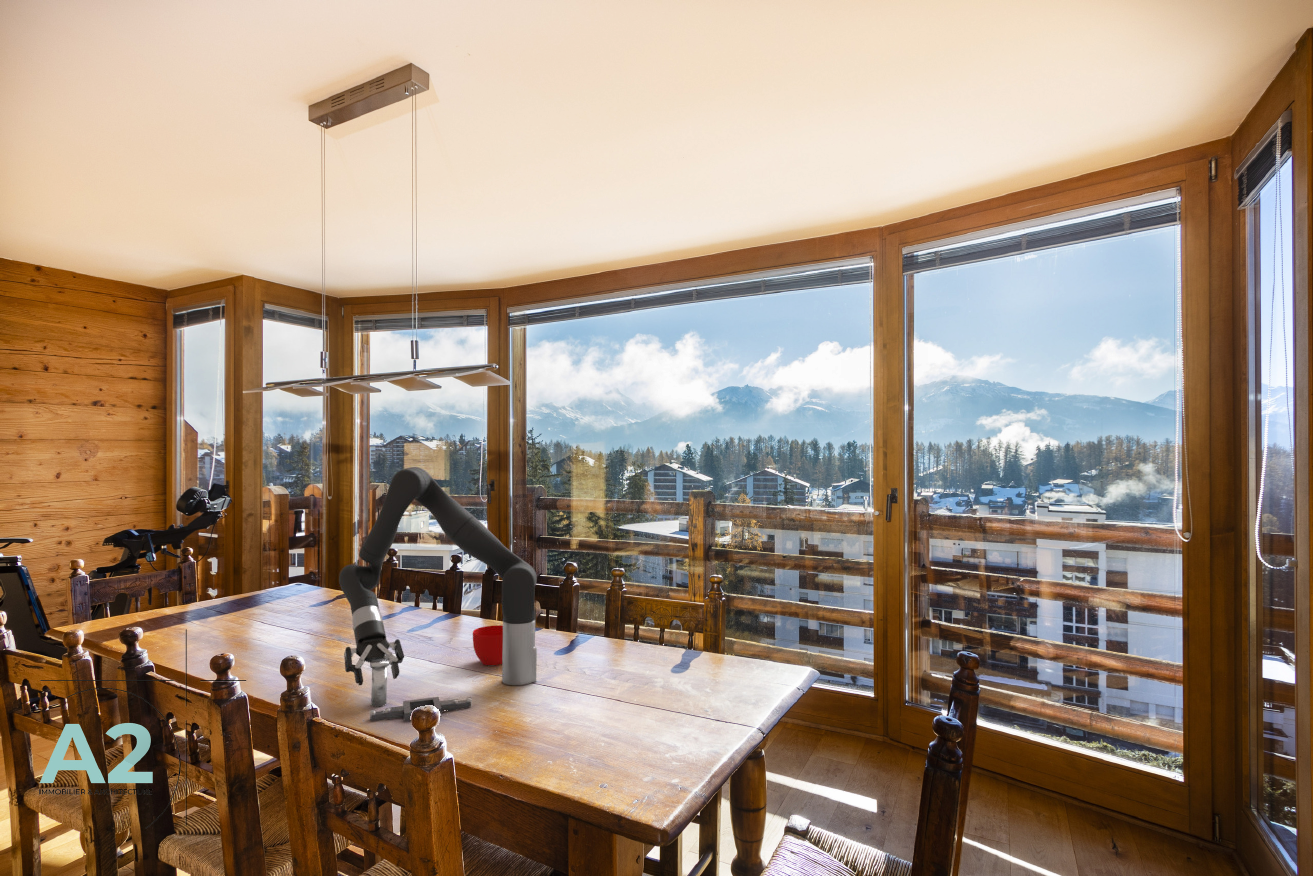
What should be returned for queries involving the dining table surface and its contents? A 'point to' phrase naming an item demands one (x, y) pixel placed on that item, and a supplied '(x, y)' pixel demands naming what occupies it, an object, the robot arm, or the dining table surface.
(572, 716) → the dining table surface
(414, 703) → the tap wrench handle
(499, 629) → the ceramic cup
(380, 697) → the pin
